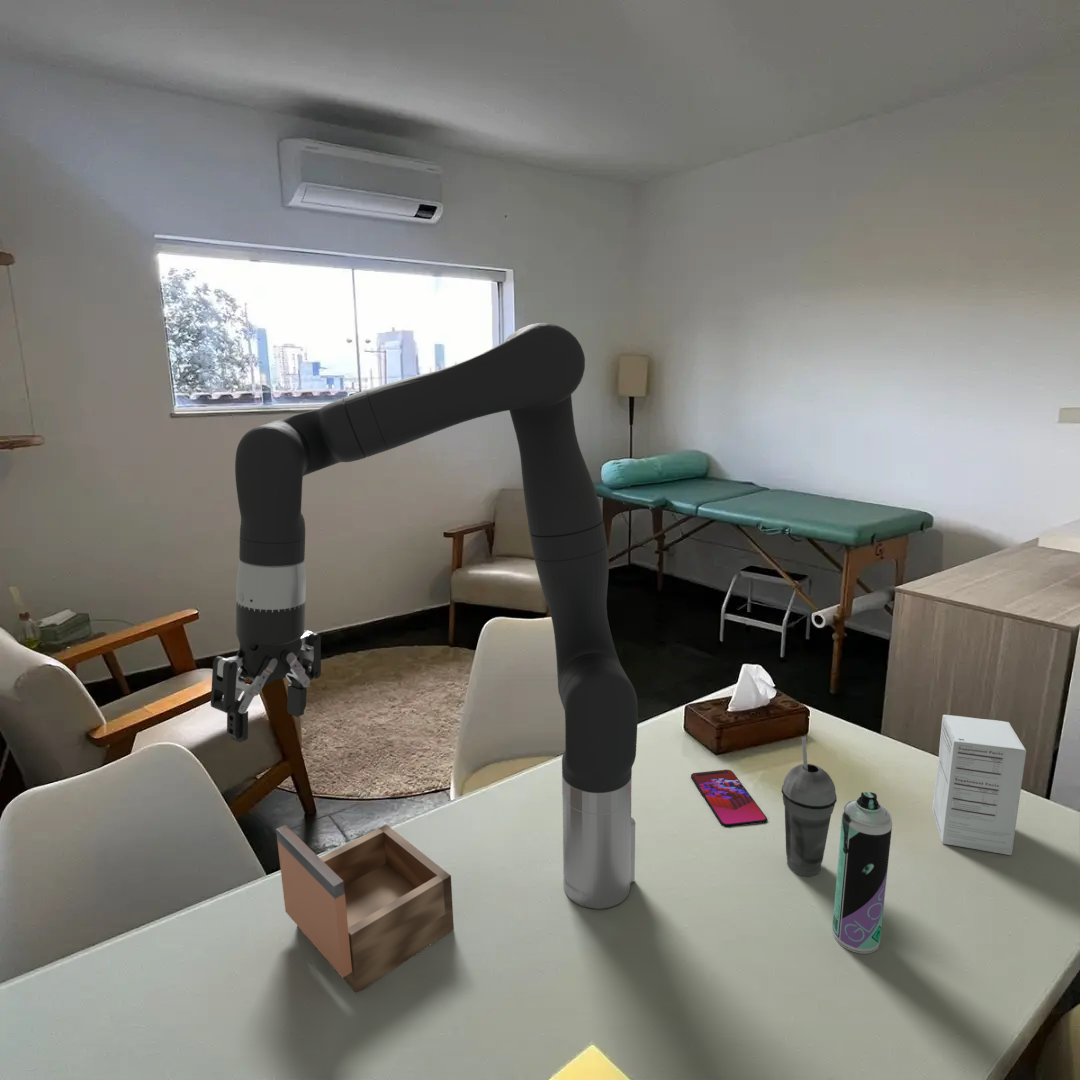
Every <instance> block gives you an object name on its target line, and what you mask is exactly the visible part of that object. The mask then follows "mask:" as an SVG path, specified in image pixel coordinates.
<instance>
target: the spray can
mask: <svg viewBox="0 0 1080 1080" xmlns="http://www.w3.org/2000/svg"><path fill="white" fill-rule="evenodd" d="M877 799H878V795H877V794H876V793H875V792H869V791H868V792H867V791H862V792H861V794H860V797H858V798H856V799H853V800H848V801H847V802H845V804H844V806H843V810H842V813H841V814H842V815H841V823H840V824H841V826H840V837H839V848H838V860H837V869H836V871H837V872H836V883H835V893H834V894H835V895H834V905H833V918H832V932H831V933H832V936H833V938H834V940H835V941H836V942H837V943H838V945H840V946H841V947H843V948H844V949H846V950H848V951H850V952H853V953H856V954H864V955H866V954H867V955H868V954H872V953H874V952H876V951H877V950H878V949H879V947H880V942H881V935H882V926H883V915H884V906H885V897H886V887H887V879H888V867H889V859H890V850H891V840H892V839H891V838H892V830H893V821H892V819H893V816H892V814H891V812H890V810H888V809H887V808H886V807H885V806H883V805H882V804H881V803H880V802H879V800H877Z"/></svg>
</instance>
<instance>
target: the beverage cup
mask: <svg viewBox="0 0 1080 1080" xmlns="http://www.w3.org/2000/svg"><path fill="white" fill-rule="evenodd" d="M801 747H802V762H803V764H798V765H796V766H795V767H792V768H791V769H790V770H789V772H787V774H786V776H785V777H784V780H783V784H782V787H781V790H780V791H781V794H782V802H783V805H784V824H785V829H784V830H785V831H784V832H785V854H786V865H787V867H788V868H789V870H790V871H792V872H793V873H794V874H797V875H799V876H804V877H813V876H817V875H818V874H819V873H820V871H821V867H822V863H823V860H824V854H825V849H826V844H827V838H828V833H829V829H830V827H829V826H830V822H831V817H832V814H833V813H834V809H835V806H836V803H837V802H838V801H837V793H836V786H835V784H834V781H833V780H832V777H831V776H830V775H829V773H828V771H826V770H824V769H823V767H820V766H818V765H815V764H813V763H812V764H811V763H808V752H807V739H806V736H801Z"/></svg>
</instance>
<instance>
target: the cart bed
mask: <svg viewBox="0 0 1080 1080" xmlns="http://www.w3.org/2000/svg"><path fill="white" fill-rule="evenodd" d="M319 858H320V859H321V860H322V861H323V862H324V863H325V864H326V865H327V866H328V867H329V868H331V869H332V870H333V871H334V872H335V873H336V874H337V875H338V876H339V877H340V878H341V879H342V880H343V881H344V890H345V901H346V911H347V922H348V933H349V944H350V954H351V965H352V972H351V973H350V974H348V975H346V976H345V977H343V978H342V979H343V980H344V981H345V982H346V983H347V985H348V986H349V987H350V989H352V990H353V991H354V992H355V994H358V993H360V992H361V991H363V990H364V989H366V988H367V987H369V986H370V985H372V984H373V983H375V982H377V981H378V980H380V979H381V978H383V977H384V976H386V975H388V974H389V973H390V972H392V971H393V970H394V969H397V967H400V966H401V965H403V964H404V963H406V962H407V961H408V960H410V959H411V958H413V957H414V956H416V955H417V953H418V954H419V953H420V952H422V951H424V950H425V949H427V948H428V947H430V946H431V945H433V944H434V943H436V942H437V941H439V940H440V939H442V938H443V937H445V936H447V935H448V934H449V933H451V932H452V931H454V930H455V928H454V927H455V926H454V909H453V908H454V907H453V893H452V888H453V887H452V875H451V874H450V873H448V872H447V871H446V870H444V869H443V868H442V866H441V867H440V865H438V864H437V863H435V861H434V860H432V859H431V858H430V857H428V855H426V854H424V853H423V852H422V851H420V849H419V848H417V847H416V846H414V845H413V844H412V843H411V842H410V841H408V840H407V839H405V838H404V837H403V836H402V835H400V834H399V833H398V832H397V831H395V830H394V829H393V828H392V827H391V826H389V825H387V824H384V825H382V826H380V827H378V828H376V829H375V830H374V829H373V830H372V831H369V832H368V833H367V834H364V835H363V836H360V837H358V838H356V839H354V840H353V841H350V842H348V843H347V844H345V845H342V846H341V847H338V848H336V849H335V850H332V851H330V852H328V853H326V854H324V855H322V856H319ZM447 933H448V934H447ZM441 937H442V938H441ZM438 939H439V940H438ZM436 940H437V941H436ZM435 941H436V942H435ZM432 943H433V944H432ZM430 944H431V945H430ZM429 945H430V946H429ZM426 947H427V948H426Z"/></svg>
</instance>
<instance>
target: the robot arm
mask: <svg viewBox="0 0 1080 1080" xmlns="http://www.w3.org/2000/svg"><path fill="white" fill-rule="evenodd" d="M582 347H583V346H582V345H581V343H580V342H579V340H578V339H577V337H576V336H575V335H573V333H571V332H570V331H569V330H567V329H566V328H564V327H562V326H560V325H557V324H554V323H551V322H550V323H549V322H536V323H532V324H528V325H525V326H523V327H521V328H519V329H517V330H515V331H513V332H512V333H511V334H510V335H509V336H508V337H507V338H506V339H505V340H504V341H503V342H501V343H500V344H498V345H496V346H494V347H492V348H490V349H489V350H486V351H484V352H483V353H480V354H479V355H476V356H473V357H471V358H469V359H466V360H464V361H461V362H458V363H456V364H453V365H450V366H448V367H444V368H441V369H438V370H434V371H430V372H427V373H421V374H419V375H414V376H411V377H407V378H404V379H403V378H402V379H399V380H396V381H392V382H387V383H384V384H382V385H379V386H374V387H372V388H369V389H366V390H362V391H360V392H357V393H354V394H351V395H348V396H345V397H342V398H340V399H337V400H333V401H332V402H329V403H328V404H326V405H324V406H323V407H320V408H318V409H313V410H310V411H305V412H302V413H301V412H300V413H298V414H294V415H291V416H287V417H283V418H280V419H277V420H273V421H270V422H266V423H264V424H261V425H258V426H255V427H253V428H251V429H250V430H249V431H247V432H246V433H245V434H244V435H243V436H242V437H241V439H240V440H239V443H238V445H237V448H236V451H235V463H234V471H235V473H234V474H235V486H236V494H237V501H238V502H237V503H238V507H239V509H238V510H239V514H240V528H239V551H238V552H239V554H238V555H239V557H238V559H239V561H238V569H237V575H236V595H235V596H236V597H235V598H236V599H235V600H236V602H235V603H236V604H235V605H236V610H235V612H236V613H235V615H236V616H235V621H236V622H235V634H236V637H237V640H238V643H239V647H238V652H237V653H236V655H234V656H230V657H223V656H220V655H218V656H215V657H214V659H213V661H212V673H211V674H212V676H211V689H210V691H211V693H210V707H212V708H213V709H216V710H218V711H221V712H223V713H225V714H226V727H227V728H226V734H227V735H228V737H229V738H230V739H232V740H233V741H236V742H238V743H243V742H245V741H247V740H248V739H249V711H248V708H249V706H250V705H251V702H252V701H253V699H254V697H256V696H258V695H260V694H261V691H262V690H263V688H264V686H267V685H269V684H271V683H272V682H273V683H274V681H275V680H282V679H285V678H286V680H288V682H290V684H288V685H287V702H286V704H287V705H286V706H287V707H286V710H287V713H288V714H289V715H292V716H294V717H296V718H299V717H302V716H304V714H305V710H306V707H307V695H308V694H307V688H308V687H309V686H310V684H311V681H312V680H313V679H319V678H320V677H321V675H322V650H321V649H322V647H321V646H322V642H321V640H322V637H321V634H319V633H317V632H314V631H311V630H306V628H305V625H306V623H305V621H306V592H307V575H306V574H307V573H306V566H305V558H306V557H305V554H306V553H305V552H306V550H305V549H306V520H305V518H304V515H303V513H302V499H303V498H302V495H303V480H304V479H303V477H305V476H306V475H309V474H312V473H315V472H317V471H320V470H323V469H326V468H328V467H331V466H334V465H336V464H339V463H350V462H356V461H360V460H362V459H366V458H369V457H373V456H375V455H377V454H382V453H383V452H386V451H389V450H392V449H395V448H397V447H400V446H404V445H405V444H409V443H410V442H413V441H416V440H418V439H421V438H424V437H426V436H429V435H432V434H434V433H437V432H440V431H442V430H446V429H447V428H450V427H453V426H456V425H458V424H462V423H464V422H468V421H471V420H475V419H478V418H483V417H485V416H488V415H492V414H497V413H502V412H506V411H507V412H508V411H509V414H510V417H511V422H512V425H513V428H514V431H515V432H514V433H515V436H516V440H517V444H518V450H519V451H518V452H519V456H520V465H521V478H522V479H521V480H522V488H523V496H524V504H525V505H524V506H525V510H526V511H525V512H526V516H527V518H526V519H527V525H528V532H529V537H530V542H531V548H532V553H533V559H534V562H535V566H536V570H537V575H538V578H539V582H540V583H539V584H540V586H541V589H542V593H543V596H544V600H545V603H546V605H547V608H548V611H549V613H550V617H551V622H552V627H553V628H552V629H553V633H554V643H555V654H556V655H555V657H556V658H555V659H556V669H557V670H556V671H557V673H556V676H557V677H556V678H557V690H558V695H559V698H560V701H561V704H562V706H563V710H564V719H565V722H564V726H565V727H564V728H565V729H564V730H565V736H564V737H565V740H564V741H565V742H564V743H565V747H564V748H565V749H564V751H563V754H562V757H561V782H562V783H561V785H562V789H561V790H562V793H561V794H562V853H563V854H562V855H563V856H562V861H563V862H562V863H563V866H562V867H563V871H562V873H563V890H564V892H565V894H566V895H567V897H568V898H569V899H570V900H572V901H573V902H575V904H578V905H580V906H582V907H585V908H590V909H599V910H601V909H607V908H608V909H609V908H612V907H615V906H617V905H619V904H621V903H622V902H624V901H625V900H626V899H627V897H628V896H629V893H630V892H631V884H632V883H633V882H635V879H636V878H635V877H636V875H635V874H636V872H635V871H636V870H635V869H636V820H635V819H634V818H633V817H632V779H633V778H632V773H633V769H632V768H633V766H634V763H635V761H636V756H637V744H638V743H637V742H638V741H637V738H638V721H639V720H638V717H639V716H638V715H639V713H638V712H639V711H638V710H639V709H638V698H637V692H636V690H635V687H634V686H633V683H632V682H631V680H630V679H629V677H628V676H627V674H626V672H625V670H624V668H623V667H622V665H621V662H620V660H619V657H618V654H617V651H616V648H615V643H614V641H613V636H612V633H611V629H610V628H611V627H610V624H609V619H608V618H609V617H608V609H607V602H608V601H607V598H608V587H609V586H608V585H609V571H610V570H609V569H610V568H609V567H610V566H609V564H610V563H609V550H608V541H607V536H606V531H605V530H606V529H605V524H604V523H605V522H604V517H603V513H602V509H601V504H600V501H599V500H600V499H599V497H598V494H597V491H596V488H595V486H594V482H593V480H592V476H591V474H590V472H589V470H588V466H587V464H586V461H585V458H584V456H583V454H582V451H581V448H580V445H579V442H578V438H577V437H578V436H577V433H576V427H575V426H576V425H575V419H574V410H573V402H572V401H573V400H572V394H573V393H574V392H575V391H576V390H577V388H578V387H579V386H580V384H581V381H582V379H583V377H584V372H585V369H586V357H585V351H584V350H583V348H582ZM298 656H299V660H298V659H297V658H298ZM247 678H248V679H249V680H250V681H251V682H252V683H250V684H248V683H246V680H247ZM242 693H243V694H242ZM241 694H242V695H241ZM240 696H241V698H240ZM239 698H240V699H239Z"/></svg>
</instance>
